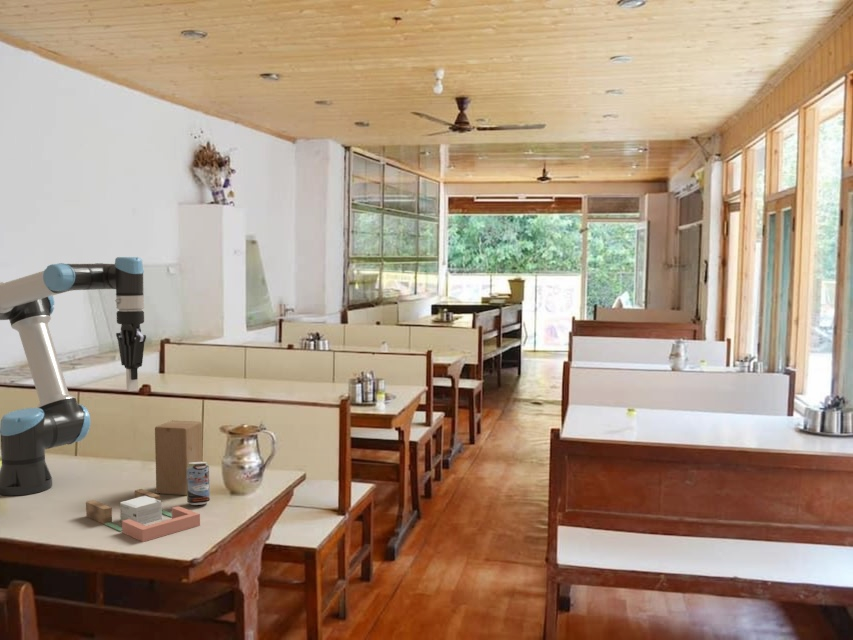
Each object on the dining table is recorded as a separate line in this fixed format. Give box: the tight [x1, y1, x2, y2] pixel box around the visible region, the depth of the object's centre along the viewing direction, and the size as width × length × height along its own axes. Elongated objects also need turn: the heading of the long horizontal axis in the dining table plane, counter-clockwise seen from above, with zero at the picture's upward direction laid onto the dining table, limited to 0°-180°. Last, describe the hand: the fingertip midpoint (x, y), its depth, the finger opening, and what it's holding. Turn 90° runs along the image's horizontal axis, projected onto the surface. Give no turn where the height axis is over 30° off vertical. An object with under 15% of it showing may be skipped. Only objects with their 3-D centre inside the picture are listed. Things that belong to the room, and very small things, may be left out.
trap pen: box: [121, 506, 201, 543], centre depth 201 cm, size 10×16×3 cm, turn 139°
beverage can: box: [186, 461, 211, 506], centre depth 222 cm, size 6×7×12 cm
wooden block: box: [154, 419, 203, 496], centre depth 235 cm, size 10×10×20 cm
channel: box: [85, 488, 161, 526], centre depth 214 cm, size 10×16×4 cm, turn 139°
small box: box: [119, 496, 163, 525], centre depth 209 cm, size 8×8×5 cm
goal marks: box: [105, 509, 172, 533], centre depth 208 cm, size 8×16×1 cm, turn 139°
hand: (132, 390), depth 231 cm, fingers closed
